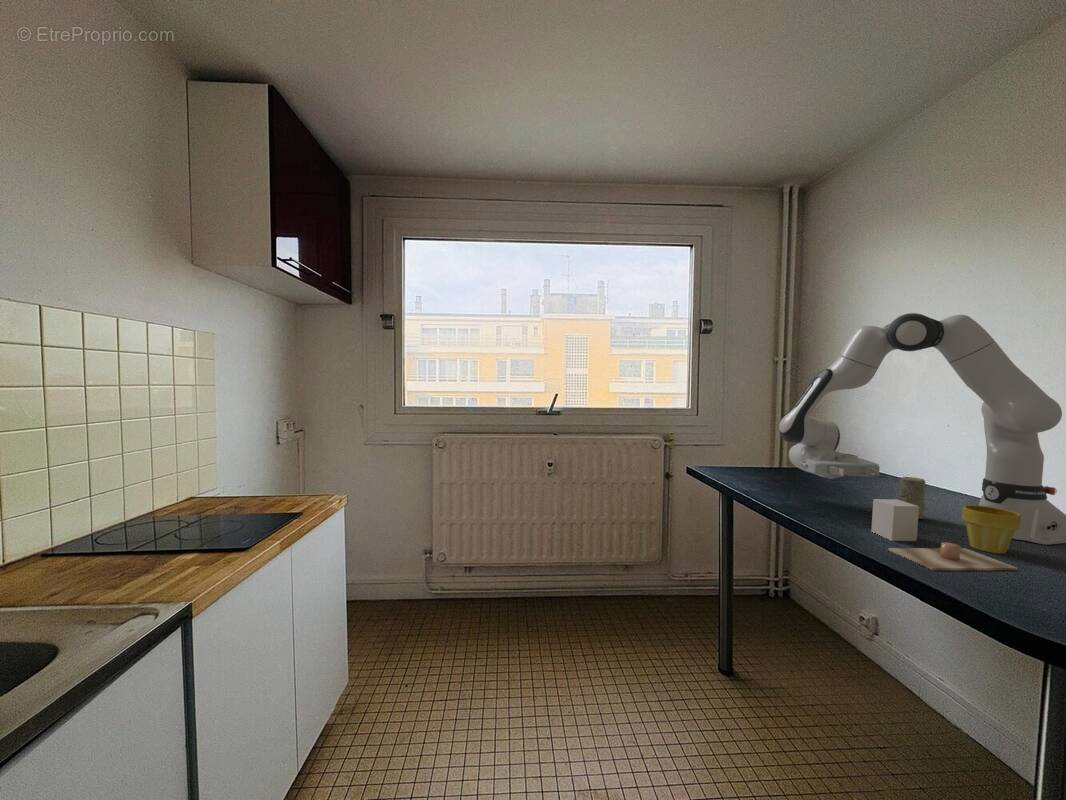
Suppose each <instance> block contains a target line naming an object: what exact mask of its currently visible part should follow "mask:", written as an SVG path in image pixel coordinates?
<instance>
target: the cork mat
mask: <svg viewBox="0 0 1066 800" xmlns="http://www.w3.org/2000/svg"><path fill="white" fill-rule="evenodd" d="M888 550H889V552H890V553H893V554H896V555H898V556H899V555H900V556H899V557H902V558H904V557H905V559H906V558H907V559H906V560H908V559H909V560H908V561H910V560H912V561H911V562H913V561H914V562H913V563H915V562H916V563H915V564H917V563H918V564H917V565H919V564H920V566H921V565H923V566H925V567H924V568H926V567H927V568H926V569H928V568H929V570H930V569H931V570H930V571H1018V570H1019V568H1018V567H1016V566H1013V565H1011V564H1009V563H1006V562H1003V561H1000V560H997V559H995V558H994V557H993V558H992V557H990V556H987V555H985V554H981V553H980V552H976V551H975V550H971V549H970V548H969V549H968V548H965V547H964V548H962V547H961V549H960V560H949V559H945V558H943V557H941V556H940V552H941V547H937V548H935V547H932V548H931V547H929V548H928V547H924V548H923V547H919V548H916V547H911V548H909V547H908V548H906V547H901V548H900V547H899V548H898V547H894V548H893V547H891V548H890V547H888V548H887V551H888ZM923 566H922V567H923Z"/></svg>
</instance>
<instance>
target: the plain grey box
mask: <svg viewBox="0 0 1066 800" xmlns="http://www.w3.org/2000/svg"><path fill="white" fill-rule="evenodd" d="M918 515H919V506H917V505H913V504H910V503H907V502H904V501H901V500H899V498H898V499H893V498H892V499H891V498H890V499H887V498H886V499H884V498H882V499H881V498H875V499H874V498H873V501H872V514H871V518H872V519H871V530H870V533H872V532H873V533H872V534H874V533H876V534H875V535H877V534H878V535H877V536H879V535H880V537H881V536H882V537H881V538H884V539H886V538H887V539H886V540H888V539H889V541H891V542H916V541H917V540H918V530H919V529H918V528H919V527H918V526H919V519H918Z"/></svg>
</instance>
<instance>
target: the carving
mask: <svg viewBox="0 0 1066 800" xmlns="http://www.w3.org/2000/svg"><path fill="white" fill-rule="evenodd" d="M925 489H926V480H925V479H924V478H919V477H912V476H911V477H910V476H901V478H900V481H899V489H898V492H899V494H898V500H901V501H904V502H907V503H910V504H913V505H917V506H919V515H918V520H922V519H924V515H925V494H926V493H925Z"/></svg>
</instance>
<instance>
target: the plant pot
mask: <svg viewBox="0 0 1066 800" xmlns="http://www.w3.org/2000/svg"><path fill="white" fill-rule="evenodd" d="M961 519H962V520H963V521H964V522H965V523H964V524H965V527H966V532H967V537H968V542H969V546H970V547H971V548H973V549H975V550H978V551H982V552H985V551H986V552H985V553H990V552H991V554H997V555H998V554H999V555H1000V554H1002V555H1003V554H1006V553H1007V552H1008V549H1009V547H1010V544H1011V542H1012V537H1013V534H1014V532H1015V530H1017V529H1019V526H1020V519H1021V516H1020V514H1018V513H1016V512H1013V511H1009V510H1005V509H1000V508H995V507H988V506H980V505H979V504H965V505H963V506H962V511H961Z"/></svg>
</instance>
